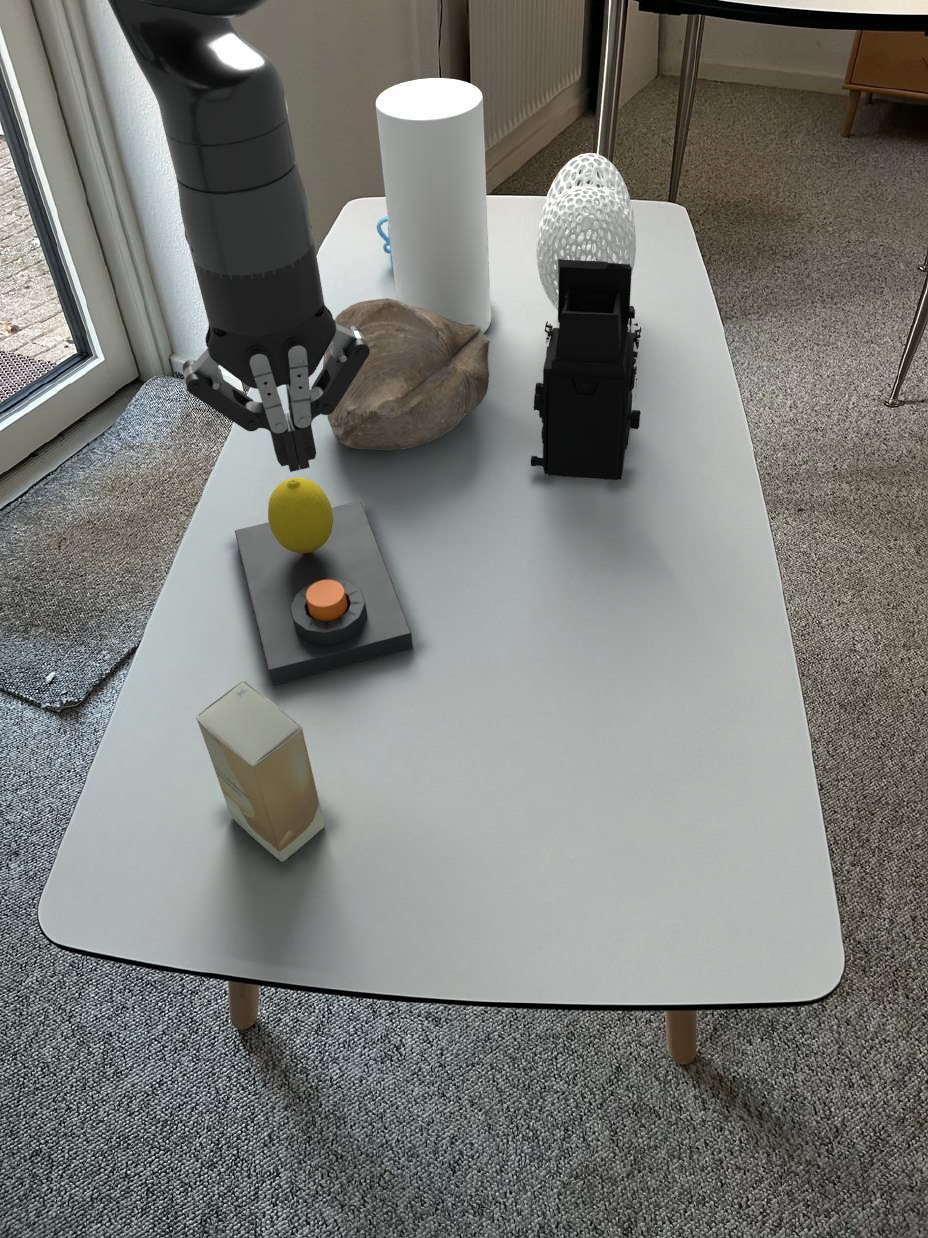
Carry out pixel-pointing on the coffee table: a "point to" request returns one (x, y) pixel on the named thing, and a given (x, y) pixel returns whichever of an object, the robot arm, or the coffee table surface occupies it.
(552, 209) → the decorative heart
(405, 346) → the seashell
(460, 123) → the tall pillar cylinder
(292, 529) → the lemon
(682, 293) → the coffee table surface
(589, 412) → the camera
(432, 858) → the coffee table surface
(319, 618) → the button
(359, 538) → the dark grey base plate
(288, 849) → the cosmetic box
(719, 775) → the coffee table surface
